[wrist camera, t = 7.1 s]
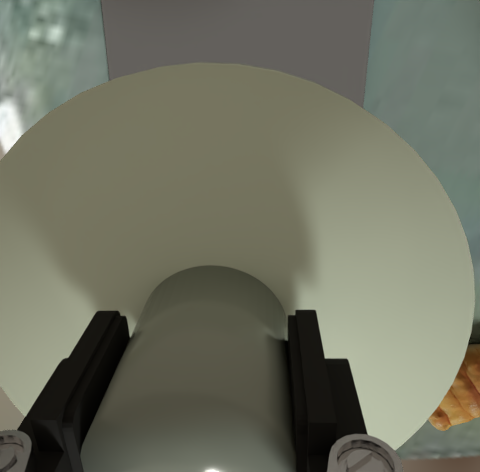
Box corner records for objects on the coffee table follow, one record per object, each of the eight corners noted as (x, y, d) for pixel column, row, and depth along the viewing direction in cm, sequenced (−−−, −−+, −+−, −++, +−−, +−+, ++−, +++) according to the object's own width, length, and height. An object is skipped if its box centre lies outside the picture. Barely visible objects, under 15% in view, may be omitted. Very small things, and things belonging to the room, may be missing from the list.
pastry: (495, 315, 37) (519, 344, 34) (530, 369, 39) (556, 402, 36) (393, 368, 40) (406, 400, 36) (431, 416, 42) (446, 451, 38)
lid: (504, 50, 11) (735, 63, 6) (427, 482, 17) (505, 691, 12) (-81, 72, 12) (-368, 100, 7) (38, 475, 18) (-61, 667, 13)
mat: (379, -78, 27) (382, -80, 26) (354, 170, 33) (356, 173, 32) (96, -74, 28) (93, -76, 27) (121, 167, 34) (119, 169, 33)
